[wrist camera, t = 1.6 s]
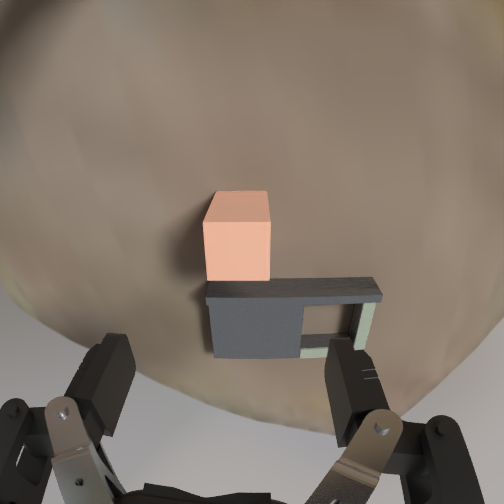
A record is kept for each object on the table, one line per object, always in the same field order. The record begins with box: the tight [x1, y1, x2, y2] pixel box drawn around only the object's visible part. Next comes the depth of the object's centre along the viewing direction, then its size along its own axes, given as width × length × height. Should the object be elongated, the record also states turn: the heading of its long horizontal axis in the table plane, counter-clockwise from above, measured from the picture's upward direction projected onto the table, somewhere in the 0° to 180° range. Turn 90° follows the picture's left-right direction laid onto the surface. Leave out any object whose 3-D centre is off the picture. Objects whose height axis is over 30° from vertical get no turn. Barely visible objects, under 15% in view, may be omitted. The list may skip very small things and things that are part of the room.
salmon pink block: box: [203, 191, 271, 281], centre depth 23 cm, size 4×4×7 cm
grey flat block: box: [206, 277, 383, 359], centre depth 29 cm, size 8×15×3 cm, turn 91°
